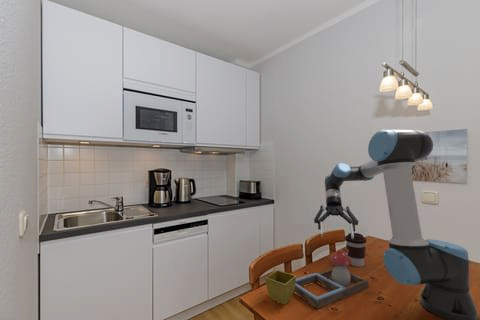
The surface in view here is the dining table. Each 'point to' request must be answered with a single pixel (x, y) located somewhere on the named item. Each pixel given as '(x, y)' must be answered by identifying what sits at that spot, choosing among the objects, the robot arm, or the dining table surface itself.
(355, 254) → the coffee cup
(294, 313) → the dining table surface
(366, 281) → the gray organizer
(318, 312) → the dining table surface
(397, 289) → the dining table surface
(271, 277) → the flower pot
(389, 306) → the dining table surface
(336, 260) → the decorative ornament
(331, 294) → the slate-blue rim
